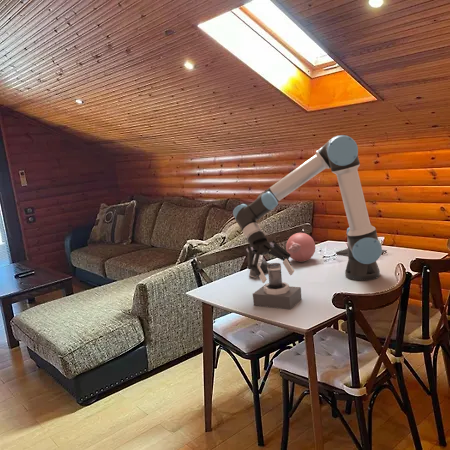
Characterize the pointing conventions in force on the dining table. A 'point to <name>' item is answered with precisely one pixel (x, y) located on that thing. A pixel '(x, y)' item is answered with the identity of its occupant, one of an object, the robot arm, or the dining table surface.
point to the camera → (262, 265)
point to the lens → (275, 275)
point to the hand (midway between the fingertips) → (278, 277)
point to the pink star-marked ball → (300, 247)
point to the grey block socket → (277, 296)
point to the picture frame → (345, 252)
